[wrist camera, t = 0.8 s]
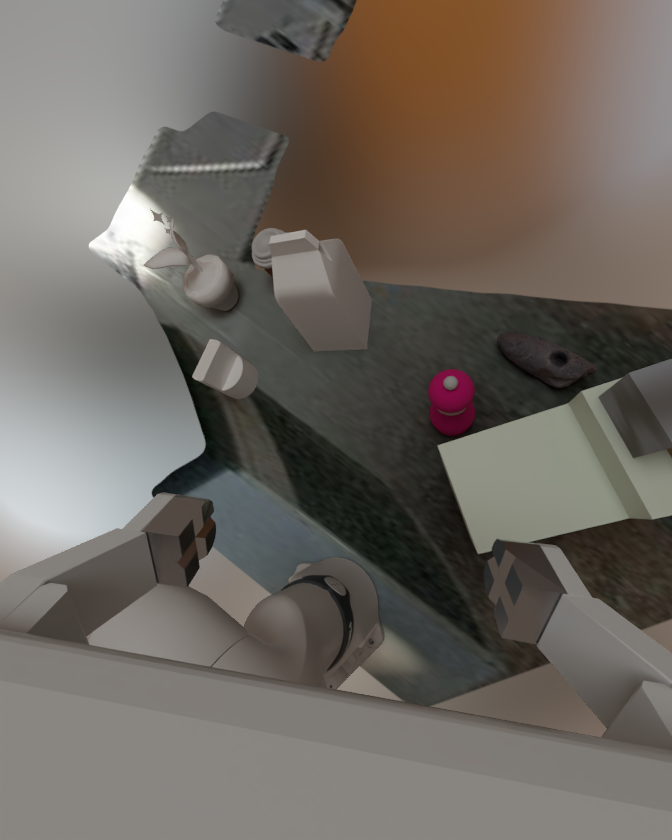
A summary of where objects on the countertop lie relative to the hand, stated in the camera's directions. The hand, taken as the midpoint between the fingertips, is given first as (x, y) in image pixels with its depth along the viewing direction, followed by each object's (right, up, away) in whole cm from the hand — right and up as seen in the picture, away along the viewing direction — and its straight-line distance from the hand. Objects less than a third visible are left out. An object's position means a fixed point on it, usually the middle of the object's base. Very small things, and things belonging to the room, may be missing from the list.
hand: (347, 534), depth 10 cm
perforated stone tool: (+34, +13, +48) cm, 61 cm away
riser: (+31, -6, +44) cm, 54 cm away
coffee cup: (-11, +37, +71) cm, 81 cm away
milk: (+1, +24, +63) cm, 67 cm away
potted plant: (-28, +34, +76) cm, 88 cm away
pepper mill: (+21, +3, +51) cm, 55 cm away
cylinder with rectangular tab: (-22, +12, +69) cm, 73 cm away
